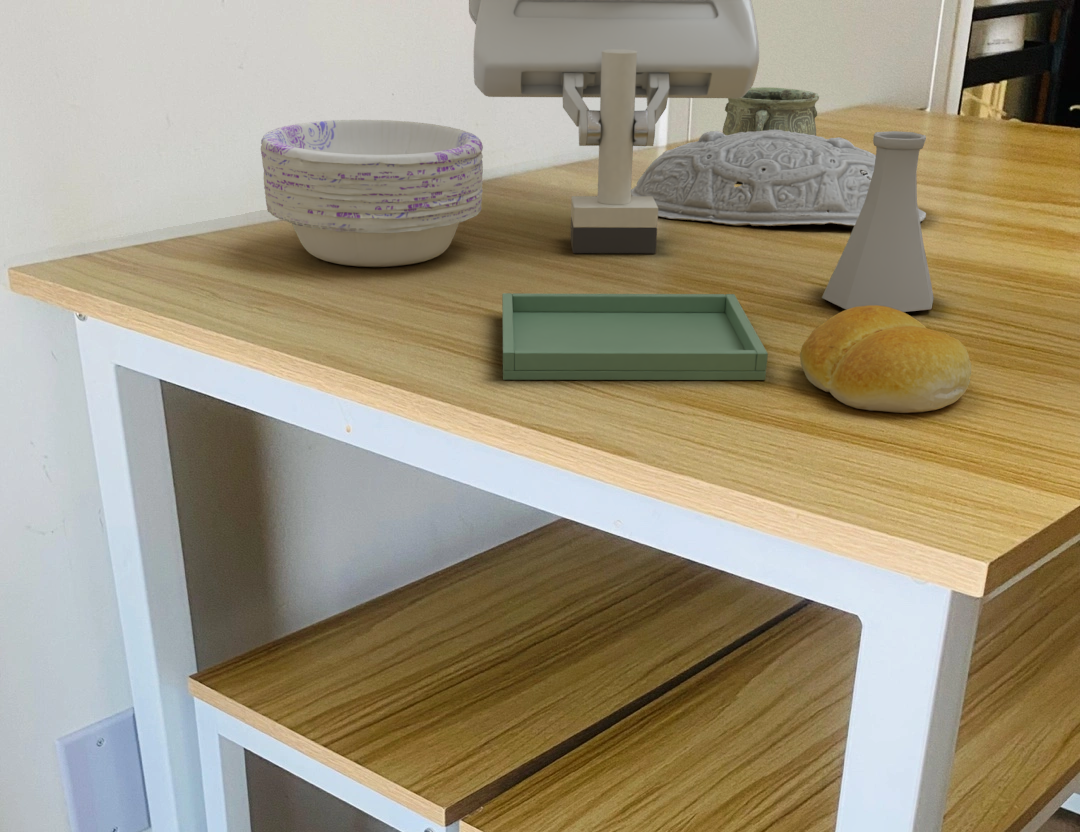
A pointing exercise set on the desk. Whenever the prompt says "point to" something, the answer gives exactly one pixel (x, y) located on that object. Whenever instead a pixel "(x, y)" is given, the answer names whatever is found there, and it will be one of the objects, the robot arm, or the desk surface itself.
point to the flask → (886, 235)
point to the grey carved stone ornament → (761, 179)
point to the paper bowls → (373, 187)
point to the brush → (615, 173)
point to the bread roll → (885, 361)
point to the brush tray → (629, 337)
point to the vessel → (772, 111)
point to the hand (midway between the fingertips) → (617, 141)
